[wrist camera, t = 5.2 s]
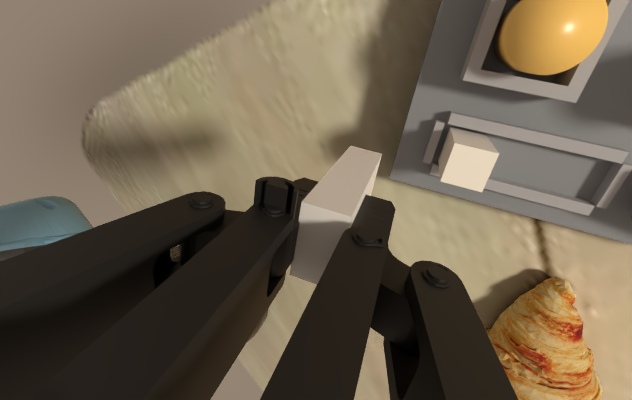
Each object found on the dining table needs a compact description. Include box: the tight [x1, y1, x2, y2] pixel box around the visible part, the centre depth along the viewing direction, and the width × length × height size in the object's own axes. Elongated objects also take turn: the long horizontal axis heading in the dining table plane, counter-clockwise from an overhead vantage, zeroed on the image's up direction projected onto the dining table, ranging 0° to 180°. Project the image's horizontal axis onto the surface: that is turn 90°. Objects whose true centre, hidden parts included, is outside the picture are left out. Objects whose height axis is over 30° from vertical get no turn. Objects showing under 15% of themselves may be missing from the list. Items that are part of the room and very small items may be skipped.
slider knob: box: [438, 127, 499, 192], centre depth 22 cm, size 3×3×5 cm
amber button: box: [494, 0, 608, 75], centre depth 19 cm, size 4×4×4 cm
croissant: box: [486, 277, 603, 400], centre depth 32 cm, size 21×10×8 cm
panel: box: [389, 0, 632, 244], centre depth 22 cm, size 24×16×7 cm, turn 81°
